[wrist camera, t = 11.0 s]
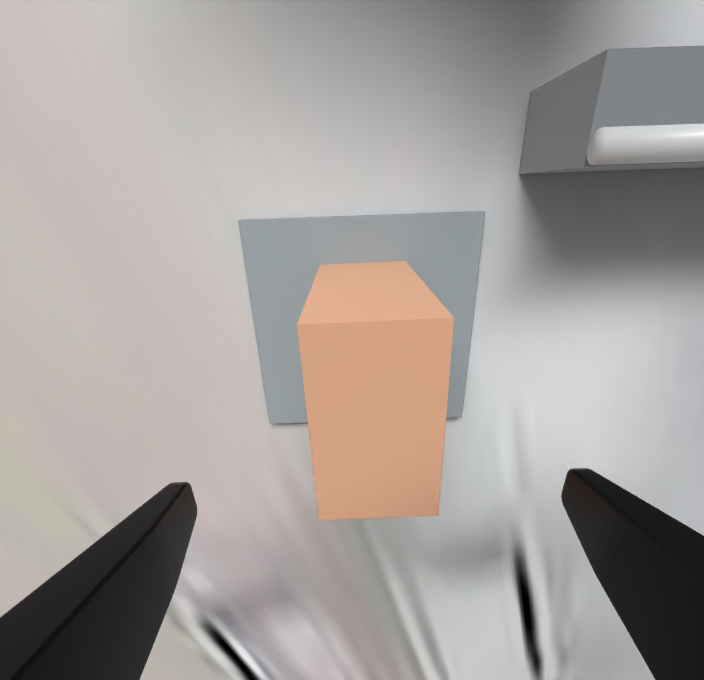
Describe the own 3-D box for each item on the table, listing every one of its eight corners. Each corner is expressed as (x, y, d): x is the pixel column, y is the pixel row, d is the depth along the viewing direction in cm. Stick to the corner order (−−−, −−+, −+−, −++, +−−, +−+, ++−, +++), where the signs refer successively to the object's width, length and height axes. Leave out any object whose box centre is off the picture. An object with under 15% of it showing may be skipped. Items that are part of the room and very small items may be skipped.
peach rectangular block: (405, 261, 16) (453, 317, 9) (402, 389, 19) (438, 515, 11) (320, 264, 16) (296, 324, 9) (329, 392, 19) (318, 520, 11)
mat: (480, 211, 16) (484, 211, 15) (459, 412, 20) (461, 417, 20) (241, 219, 16) (238, 220, 15) (271, 418, 20) (269, 423, 20)
